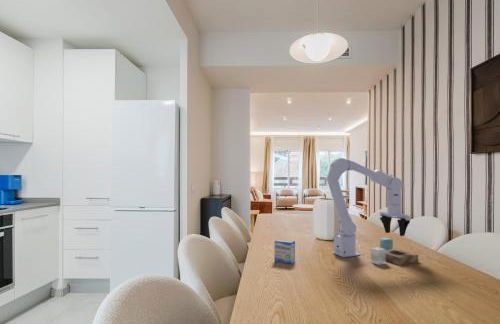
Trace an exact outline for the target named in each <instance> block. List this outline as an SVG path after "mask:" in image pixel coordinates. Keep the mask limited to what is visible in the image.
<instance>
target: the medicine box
mask: <svg viewBox="0 0 500 324" xmlns="http://www.w3.org/2000/svg"><path fill="white" fill-rule="evenodd" d="M273 244H274V246H273V247H274V248H273V249H274V257H273V258H274V259H273V261H274V262H276V263H282V264H291V265H292V264H294V263H295V262H296V241H295V240H289V239H288V240H286V239H276V240H274V243H273Z"/></svg>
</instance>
